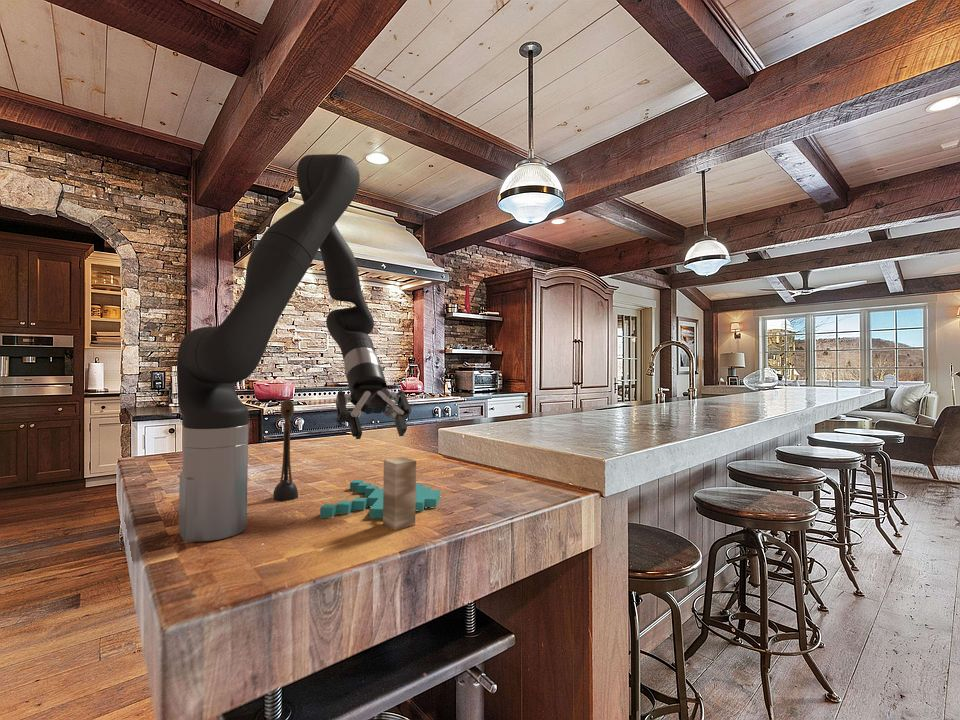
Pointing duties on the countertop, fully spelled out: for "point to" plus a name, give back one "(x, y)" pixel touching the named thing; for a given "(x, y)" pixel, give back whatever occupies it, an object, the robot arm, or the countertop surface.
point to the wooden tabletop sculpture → (286, 459)
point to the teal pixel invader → (377, 500)
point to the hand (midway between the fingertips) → (381, 435)
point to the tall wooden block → (399, 493)
